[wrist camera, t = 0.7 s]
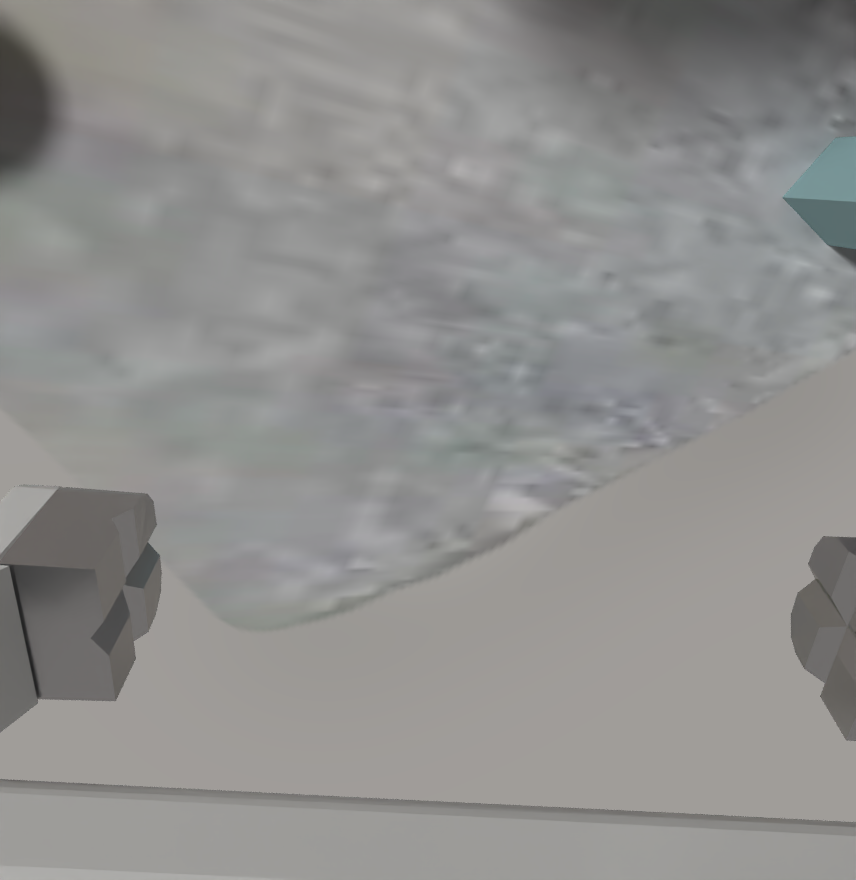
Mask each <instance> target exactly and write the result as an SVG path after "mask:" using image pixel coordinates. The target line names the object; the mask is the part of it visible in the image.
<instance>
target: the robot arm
mask: <svg viewBox="0 0 856 880" xmlns="http://www.w3.org/2000/svg"><path fill="white" fill-rule="evenodd" d="M156 525H157V523H156V516H155V509H154V502H153V500H152V499H151V498H150V496H149V495H148V494H145V493H132V492H120V491H108V490H95V489H83V488H70V487H66V488H63V487H60V486H44V485H19V486H14V487H13V488H12V489H11V490H10V491H9V492H8V493H7V494H6V495H5V497H4V498H3V499H2V500H1V501H0V732H1V731H3V730H4V729H5V728H7V727H8V726H9V725H10V724H12V723H13V722H14V721H16V720H17V719H18V718H20V717H21V716H22V715H23V714H25V713H26V712H27V711H29V710H30V709H31V708H32V707H34V706H35V705H36V704H37V703H38V699H55V700H92V701H95V700H96V701H116V699H117V697H118V695H119V693H120V691H121V688H122V687H123V685H124V682H125V680H126V678H127V676H128V674H129V672H130V670H131V668H132V666H133V663H134V661H135V659H136V657H135V648H134V641H135V640H136V639H138V638H139V637H141V636H143V635H144V634H146V633H147V632H148V631H149V629H150V626H151V624H152V622H153V620H154V617H155V615H156V611H157V607H158V602H159V598H160V593H161V574H162V572H161V561H160V555H159V554H158V553H157V552H156V551H155V550H154V548H153V547H152V546H151V545H150V544H149V543H148V540H149V539H150V537H151V535H152V533H153V531H154V529H155V527H156ZM808 565H809V567H810V569H811V571H812V573H813V575H814V577H815V580H814V581H812V582H811V583H810V584H808V585H807V586H806V587H805V588H803V589H802V590H801V591H800V592H798V594H797V597H796V600H795V603H794V607H793V610H792V613H791V638H792V642H793V645H794V649H795V652H796V655H797V656H798V658H799V660H800V662H801V663H802V665H803V667H804V669H806V670H807V671H808V672H810V673H811V674H813V675H814V676H816V677H817V678H818V679H820V680H821V681H823V682H824V683H825V684H824V687H823V690H822V693H821V696H820V697H821V698H822V700H823V702H824V703H825V705H826V707H827V709H828V710H829V712H830V714H831V715H832V717H833V719H834V720H835V722H836V724H837V726H838V727H839V729H840V731H841V732H842V734H843V736H844V738H845V739H846V740H851V741H856V537H829V536H823V537H822V539H821V540H820V541H819V542H818V544H817V545H816V546H815V547H814V550H813V552H812V555H811V558H810V561H809V563H808ZM0 880H856V822H840V821H821V820H802V819H782V818H781V819H780V818H763V817H744V816H743V817H742V816H724V815H705V814H704V815H703V814H685V813H665V812H643V811H624V810H604V809H583V808H582V809H581V808H563V807H562V808H561V807H541V806H521V805H501V804H481V803H460V802H440V801H419V800H417V801H416V800H399V799H379V798H378V799H377V798H359V797H339V796H319V795H300V794H281V793H261V792H241V791H222V790H221V791H220V790H202V789H181V788H162V787H143V786H123V785H103V784H83V783H64V782H44V781H25V780H5V779H0Z"/></svg>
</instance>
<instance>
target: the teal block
mask: <svg viewBox="0 0 856 880" xmlns="http://www.w3.org/2000/svg"><path fill="white" fill-rule="evenodd" d="M783 199H784V200H785V201H786V202H787V203H788V204H789V205H790V206H791V207H792V208H793V209H794V210H795V211H796V212H797V213H798V214H799V215H800V216H801V217H802V219H803V220H804V221H805V222H806V223H807V224H808V225H809V226H810V227H811V228H812V229H813V230H814V231H815V232H816V233H817V234H818V235H819V236H820V237H821V239H822V240H823V241H824V242H825V243H826V244H827V245H831V246H838V247H844V248H851V249H856V136H854V137H839V138H835V139H834V140H833V141H832V143H831V144H830V145H829V146H828V147H827V148H826V149H825V150H824V152H823V153H822V154H821V155H820V156H819V157H818V158H817V159H816V160H815V162H814V163H813V164H812V165H811V166H810V167H809V168H808V169H807V170H806V172H805V173H804V174H803V175H802V176H801V177H800V178H799V179H798V180H797V182H796V183H795V184H794V185H793V186H792V187H791V188H790V189H789V191H788V192H787V193H786V194H785V195H784V196H783Z"/></svg>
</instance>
